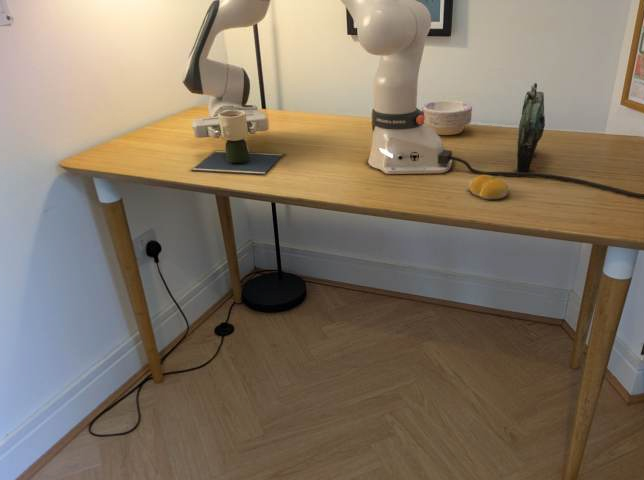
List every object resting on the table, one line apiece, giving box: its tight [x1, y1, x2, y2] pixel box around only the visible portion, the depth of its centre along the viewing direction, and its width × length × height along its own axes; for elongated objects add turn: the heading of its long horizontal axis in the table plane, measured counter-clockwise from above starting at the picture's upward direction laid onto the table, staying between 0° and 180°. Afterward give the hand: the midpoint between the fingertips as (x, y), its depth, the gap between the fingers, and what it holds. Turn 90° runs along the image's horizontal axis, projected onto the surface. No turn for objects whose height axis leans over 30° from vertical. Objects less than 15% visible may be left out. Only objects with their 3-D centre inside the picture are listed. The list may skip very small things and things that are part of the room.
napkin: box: [191, 150, 284, 176], centre depth 153 cm, size 20×16×1 cm
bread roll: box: [468, 174, 509, 200], centre depth 132 cm, size 8×9×4 cm
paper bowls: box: [421, 100, 473, 136], centre depth 173 cm, size 15×15×8 cm
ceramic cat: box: [516, 82, 546, 173], centre depth 145 cm, size 20×6×20 cm, turn 162°
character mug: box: [218, 110, 250, 163], centre depth 150 cm, size 11×7×13 cm, turn 163°
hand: (234, 132), depth 149 cm, fingers open, 8 cm apart
